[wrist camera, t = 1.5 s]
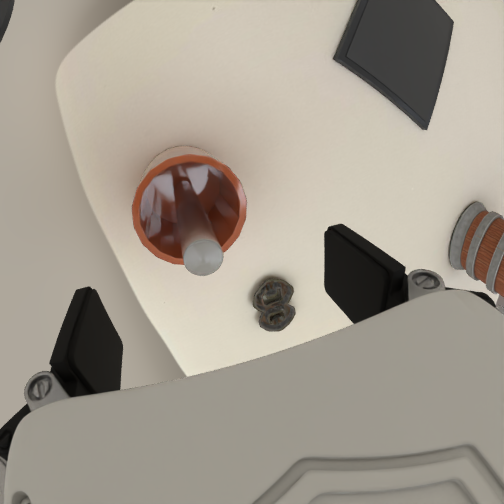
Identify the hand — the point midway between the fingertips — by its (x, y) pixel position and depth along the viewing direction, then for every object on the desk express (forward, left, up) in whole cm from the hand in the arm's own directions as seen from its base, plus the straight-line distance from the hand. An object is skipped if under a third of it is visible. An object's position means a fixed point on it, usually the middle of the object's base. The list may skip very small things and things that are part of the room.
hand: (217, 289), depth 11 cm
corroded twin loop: (+14, -10, -17) cm, 24 cm away
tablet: (+17, +29, -17) cm, 38 cm away
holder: (0, 0, -17) cm, 17 cm away
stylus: (0, 0, -16) cm, 16 cm away
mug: (+52, +11, -17) cm, 55 cm away
